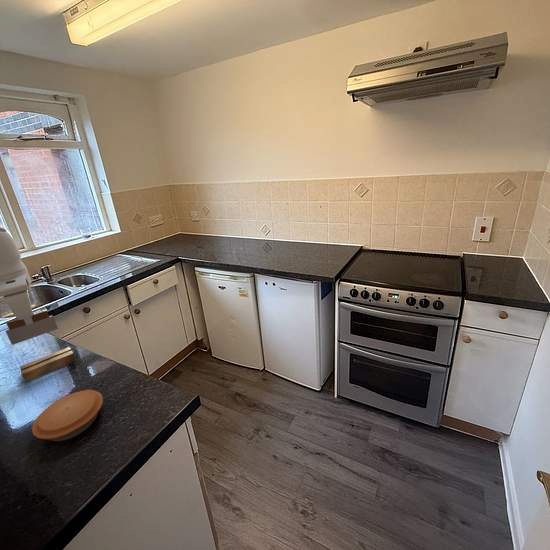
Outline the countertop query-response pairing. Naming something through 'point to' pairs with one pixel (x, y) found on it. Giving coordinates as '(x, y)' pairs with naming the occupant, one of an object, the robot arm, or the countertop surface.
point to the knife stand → (47, 364)
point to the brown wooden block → (30, 327)
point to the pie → (68, 416)
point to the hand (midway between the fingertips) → (29, 322)
